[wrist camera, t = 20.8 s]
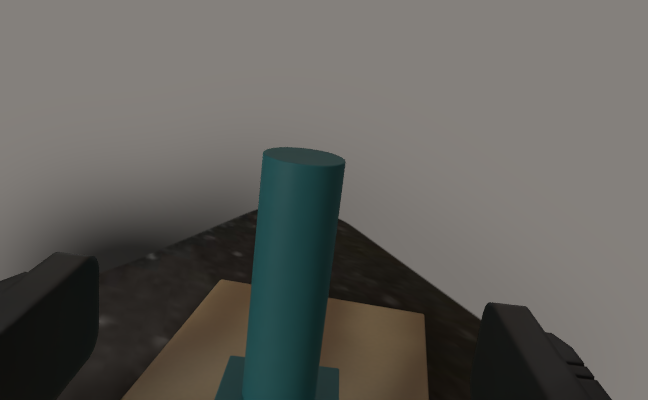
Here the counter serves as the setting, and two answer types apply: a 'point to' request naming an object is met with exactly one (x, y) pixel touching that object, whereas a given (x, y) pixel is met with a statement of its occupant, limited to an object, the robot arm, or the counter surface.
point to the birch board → (337, 352)
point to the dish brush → (290, 281)
